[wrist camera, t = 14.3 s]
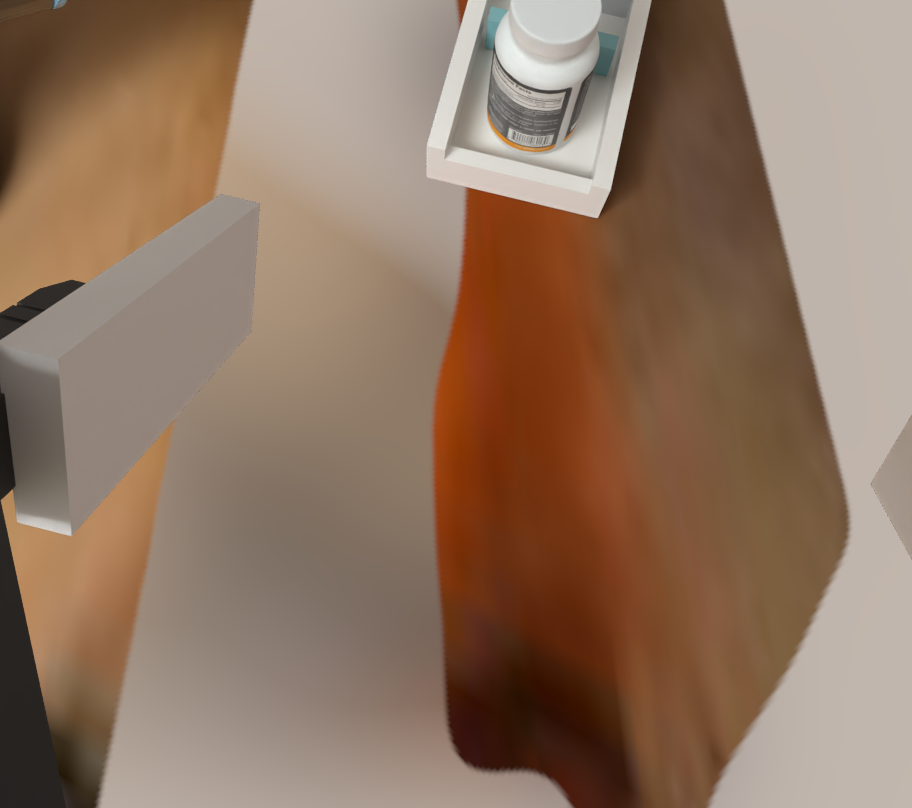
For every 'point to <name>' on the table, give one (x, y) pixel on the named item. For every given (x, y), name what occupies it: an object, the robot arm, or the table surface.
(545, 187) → the pusher lane
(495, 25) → the pusher plate
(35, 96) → the table surface
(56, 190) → the table surface
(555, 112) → the pill bottle
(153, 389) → the robot arm
